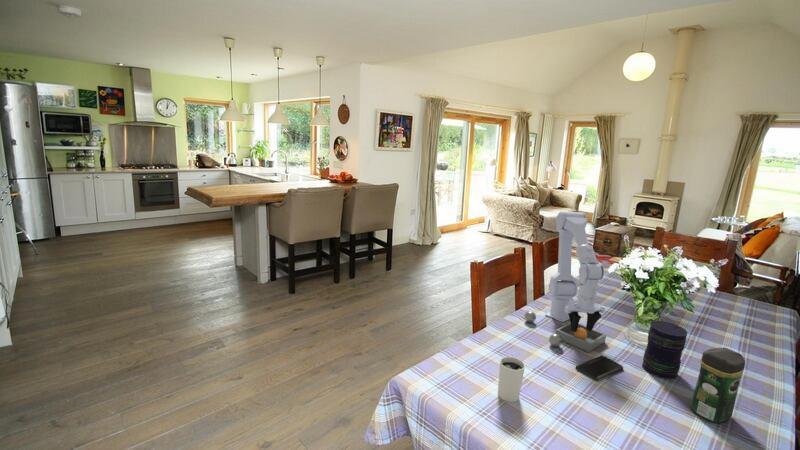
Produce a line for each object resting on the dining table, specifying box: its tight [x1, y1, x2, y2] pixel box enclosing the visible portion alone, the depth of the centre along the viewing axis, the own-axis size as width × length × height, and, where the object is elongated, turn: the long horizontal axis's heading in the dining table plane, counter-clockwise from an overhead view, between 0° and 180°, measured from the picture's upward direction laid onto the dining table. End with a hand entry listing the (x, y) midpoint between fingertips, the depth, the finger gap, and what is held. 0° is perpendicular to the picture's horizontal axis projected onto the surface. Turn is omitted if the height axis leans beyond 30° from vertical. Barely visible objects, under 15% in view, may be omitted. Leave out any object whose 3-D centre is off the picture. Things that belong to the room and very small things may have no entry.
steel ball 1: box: [523, 310, 537, 324], centre depth 155 cm, size 4×4×4 cm
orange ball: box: [574, 328, 587, 340], centre depth 142 cm, size 4×4×4 cm
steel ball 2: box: [548, 333, 563, 348], centre depth 137 cm, size 4×4×4 cm
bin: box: [554, 322, 607, 354], centre depth 143 cm, size 13×13×3 cm
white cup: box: [497, 356, 526, 403], centre depth 108 cm, size 7×7×10 cm
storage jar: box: [641, 320, 688, 380], centre depth 124 cm, size 10×10×15 cm
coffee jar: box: [689, 346, 746, 424], centre depth 105 cm, size 10×8×19 cm
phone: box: [575, 355, 624, 382], centre depth 125 cm, size 8×1×15 cm
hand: (581, 330), depth 142 cm, fingers open, 5 cm apart
